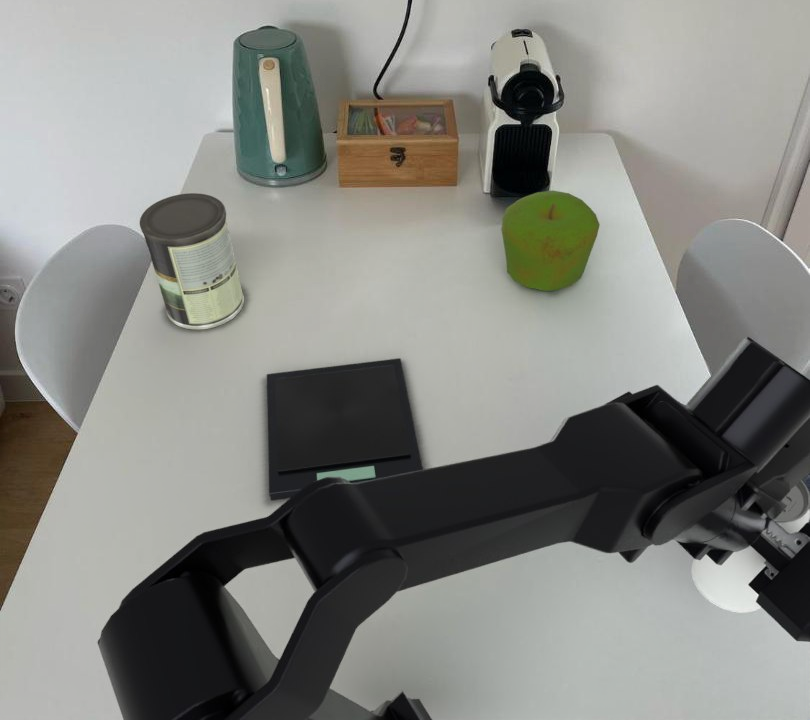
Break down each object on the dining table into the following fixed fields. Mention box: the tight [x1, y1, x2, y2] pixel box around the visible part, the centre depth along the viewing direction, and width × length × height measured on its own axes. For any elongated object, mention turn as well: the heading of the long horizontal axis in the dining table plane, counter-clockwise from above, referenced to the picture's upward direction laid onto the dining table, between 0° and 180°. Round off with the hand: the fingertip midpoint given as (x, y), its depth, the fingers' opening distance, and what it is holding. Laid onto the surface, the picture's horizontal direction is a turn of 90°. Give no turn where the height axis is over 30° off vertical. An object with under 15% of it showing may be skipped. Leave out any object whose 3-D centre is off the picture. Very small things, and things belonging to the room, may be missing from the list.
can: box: [690, 479, 810, 614], centre depth 64 cm, size 6×6×12 cm
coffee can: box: [139, 192, 245, 331], centre depth 103 cm, size 10×10×14 cm
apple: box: [501, 190, 600, 292], centre depth 106 cm, size 12×12×11 cm
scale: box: [266, 357, 424, 501], centre depth 90 cm, size 18×16×2 cm
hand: (763, 526), depth 64 cm, fingers closed on can, 6 cm apart
